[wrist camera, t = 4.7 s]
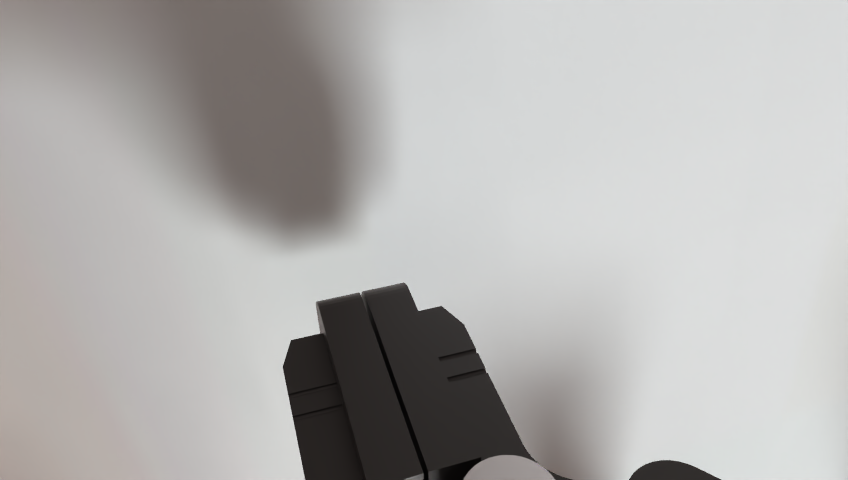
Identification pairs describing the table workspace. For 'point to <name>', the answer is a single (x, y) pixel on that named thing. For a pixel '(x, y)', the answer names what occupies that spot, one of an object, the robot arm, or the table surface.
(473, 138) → the table surface
